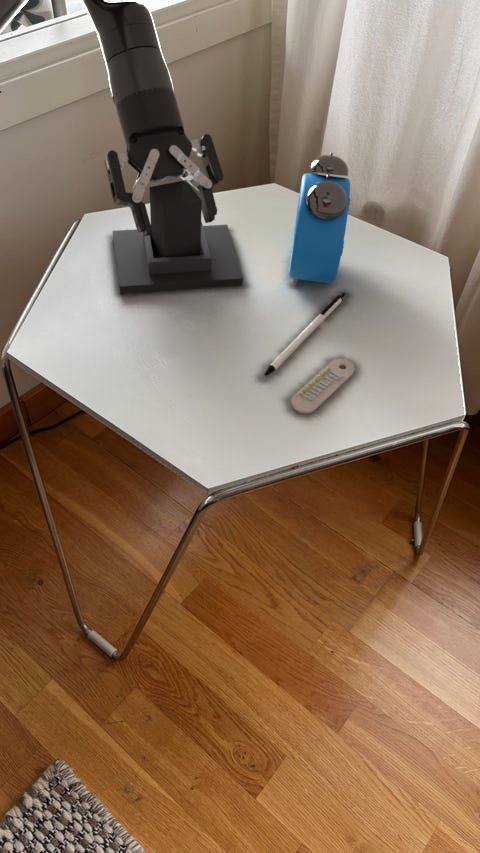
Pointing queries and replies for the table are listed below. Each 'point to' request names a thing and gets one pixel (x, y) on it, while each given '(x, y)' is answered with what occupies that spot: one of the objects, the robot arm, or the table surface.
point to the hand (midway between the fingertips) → (179, 227)
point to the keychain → (322, 386)
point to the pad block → (175, 220)
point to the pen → (304, 335)
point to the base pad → (176, 263)
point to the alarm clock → (320, 221)
